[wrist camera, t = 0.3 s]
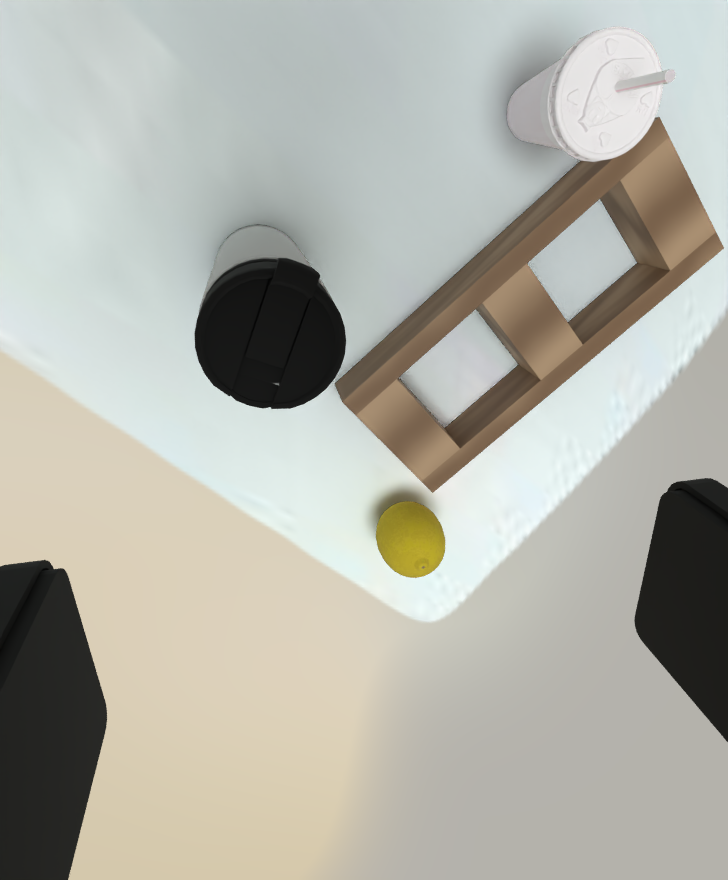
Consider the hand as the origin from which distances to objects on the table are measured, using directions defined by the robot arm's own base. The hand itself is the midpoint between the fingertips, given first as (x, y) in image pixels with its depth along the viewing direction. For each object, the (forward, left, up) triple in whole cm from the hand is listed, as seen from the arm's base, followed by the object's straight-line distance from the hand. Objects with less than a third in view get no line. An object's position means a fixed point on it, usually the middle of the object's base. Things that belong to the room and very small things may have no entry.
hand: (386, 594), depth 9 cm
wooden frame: (+15, +11, -36) cm, 40 cm away
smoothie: (+4, +20, -36) cm, 42 cm away
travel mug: (-1, -1, -36) cm, 36 cm away
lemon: (+22, -7, -36) cm, 43 cm away
